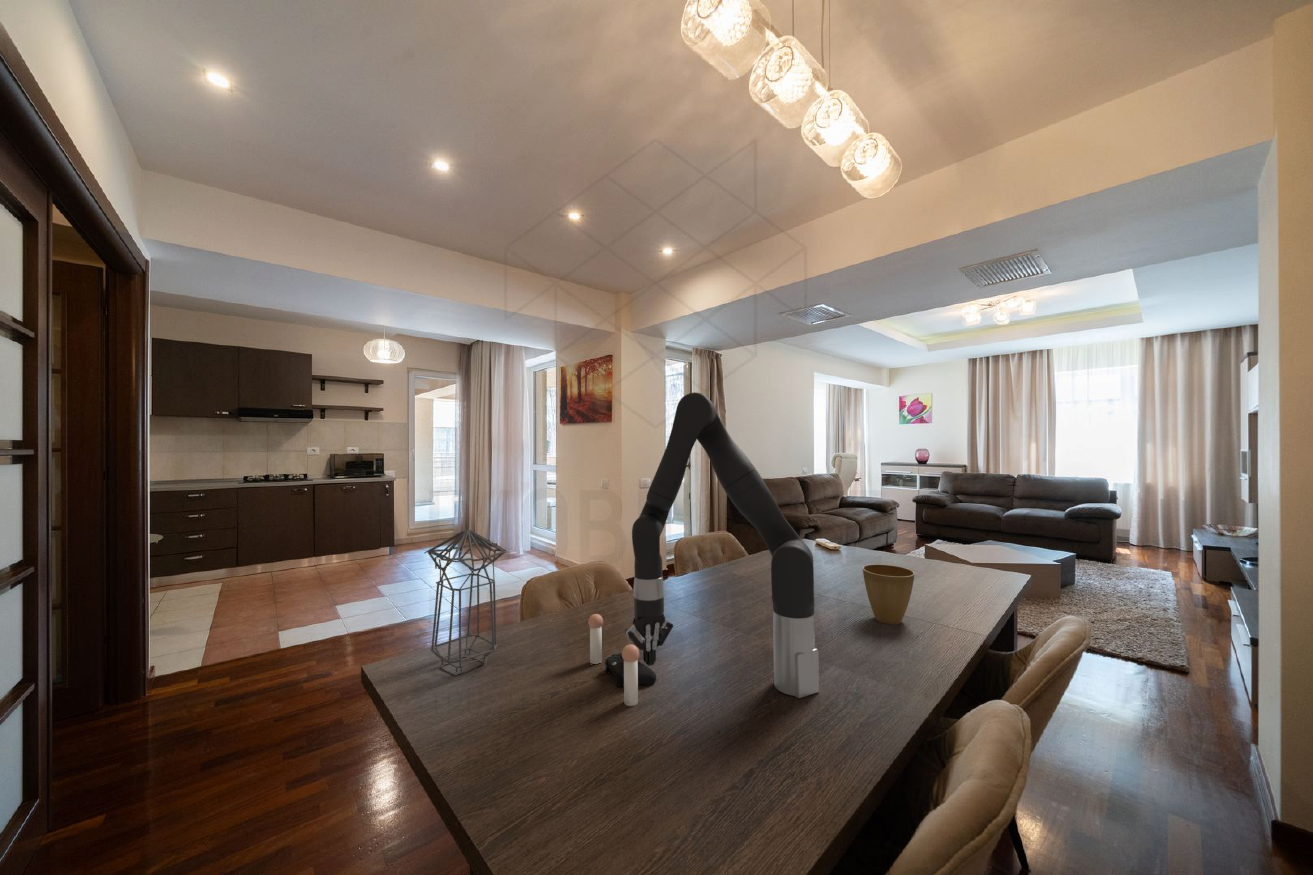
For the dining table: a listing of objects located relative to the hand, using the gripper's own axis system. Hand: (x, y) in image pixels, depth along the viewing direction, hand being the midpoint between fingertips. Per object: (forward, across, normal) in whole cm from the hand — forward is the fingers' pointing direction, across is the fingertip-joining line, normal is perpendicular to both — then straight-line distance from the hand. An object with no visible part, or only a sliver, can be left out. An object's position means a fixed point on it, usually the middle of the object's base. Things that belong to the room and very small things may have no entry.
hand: (649, 663), depth 119 cm
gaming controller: (+2, -6, 0) cm, 6 cm away
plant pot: (+2, +82, -5) cm, 82 cm away
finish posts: (+2, -10, 0) cm, 10 cm away
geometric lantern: (+2, -40, +24) cm, 47 cm away
